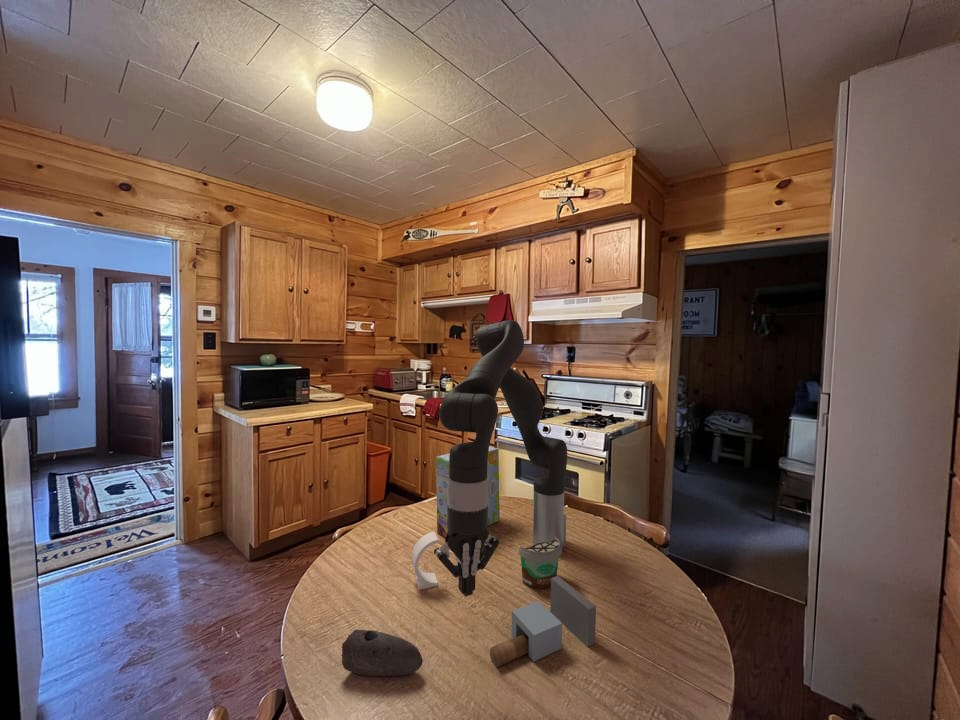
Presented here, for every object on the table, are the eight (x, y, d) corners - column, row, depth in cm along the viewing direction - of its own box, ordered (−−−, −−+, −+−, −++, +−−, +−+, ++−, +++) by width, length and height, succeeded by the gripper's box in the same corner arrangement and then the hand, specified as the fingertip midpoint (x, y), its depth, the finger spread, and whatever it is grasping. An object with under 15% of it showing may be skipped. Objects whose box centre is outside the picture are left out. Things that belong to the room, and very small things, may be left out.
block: (538, 624, 87) (538, 600, 87) (561, 648, 80) (562, 623, 80) (511, 635, 83) (511, 611, 83) (533, 661, 77) (534, 635, 76)
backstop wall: (557, 609, 92) (557, 575, 92) (595, 643, 82) (595, 606, 81) (550, 611, 91) (550, 578, 91) (587, 647, 81) (588, 609, 80)
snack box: (483, 513, 143) (484, 443, 142) (500, 522, 137) (501, 448, 135) (434, 533, 128) (434, 454, 127) (451, 543, 122) (451, 461, 121)
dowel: (521, 639, 82) (525, 629, 81) (530, 655, 79) (534, 645, 78) (488, 653, 78) (491, 643, 77) (496, 671, 75) (499, 661, 74)
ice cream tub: (531, 598, 96) (532, 558, 96) (517, 584, 101) (518, 546, 101) (571, 584, 102) (572, 546, 101) (556, 571, 107) (556, 535, 107)
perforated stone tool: (426, 665, 76) (426, 630, 76) (418, 688, 71) (418, 651, 70) (352, 656, 78) (351, 622, 78) (339, 679, 73) (339, 642, 72)
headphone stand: (438, 585, 101) (438, 539, 100) (414, 590, 99) (414, 543, 98) (434, 575, 105) (434, 531, 104) (411, 580, 103) (411, 535, 102)
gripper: (488, 488, 79) (487, 573, 80) (426, 500, 73) (425, 592, 73) (509, 502, 73) (507, 594, 73) (442, 516, 66) (441, 617, 67)
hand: (466, 593), depth 73 cm, fingers closed
